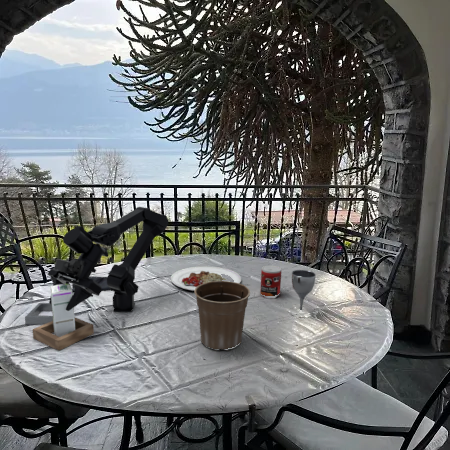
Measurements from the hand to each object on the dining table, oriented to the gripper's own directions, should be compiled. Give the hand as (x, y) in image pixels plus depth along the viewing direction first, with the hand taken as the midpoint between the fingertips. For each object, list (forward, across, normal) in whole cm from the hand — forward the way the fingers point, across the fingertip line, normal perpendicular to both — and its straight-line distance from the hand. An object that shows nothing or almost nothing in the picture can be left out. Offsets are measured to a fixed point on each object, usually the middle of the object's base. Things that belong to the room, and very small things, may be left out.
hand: (58, 307), depth 113 cm
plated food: (-38, +8, +54) cm, 66 cm away
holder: (+2, -15, +12) cm, 19 cm away
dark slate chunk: (-18, -24, +33) cm, 45 cm away
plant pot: (-11, +40, +25) cm, 49 cm away
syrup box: (+5, 0, +7) cm, 9 cm away
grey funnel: (-33, +53, +48) cm, 79 cm away
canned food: (-40, +37, +55) cm, 77 cm away
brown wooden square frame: (+6, 0, +8) cm, 10 cm away
